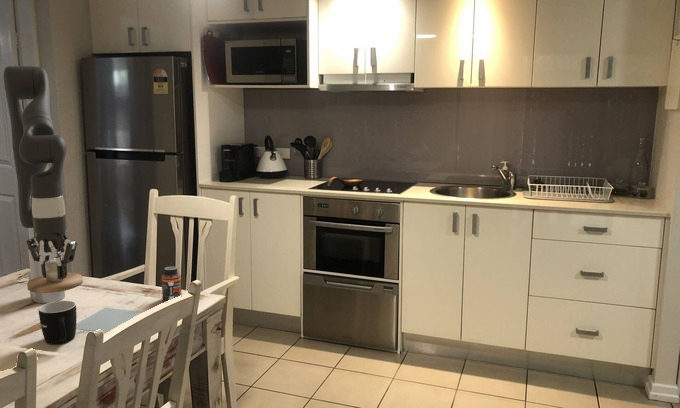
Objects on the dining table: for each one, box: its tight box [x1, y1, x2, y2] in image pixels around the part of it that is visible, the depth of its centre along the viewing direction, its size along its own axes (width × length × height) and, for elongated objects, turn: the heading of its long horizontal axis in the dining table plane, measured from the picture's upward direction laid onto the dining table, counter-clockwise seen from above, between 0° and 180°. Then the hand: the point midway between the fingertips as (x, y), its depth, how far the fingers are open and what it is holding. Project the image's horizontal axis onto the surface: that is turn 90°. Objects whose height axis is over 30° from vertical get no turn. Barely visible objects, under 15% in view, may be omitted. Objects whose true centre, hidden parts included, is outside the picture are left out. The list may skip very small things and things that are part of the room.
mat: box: [76, 307, 143, 333], centre depth 165 cm, size 16×16×1 cm
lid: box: [26, 260, 84, 293], centre depth 147 cm, size 13×13×6 cm
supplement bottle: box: [161, 266, 182, 303], centre depth 181 cm, size 6×6×11 cm
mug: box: [38, 300, 77, 346], centre depth 150 cm, size 12×9×10 cm
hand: (55, 277), depth 148 cm, fingers closed on lid, 4 cm apart
